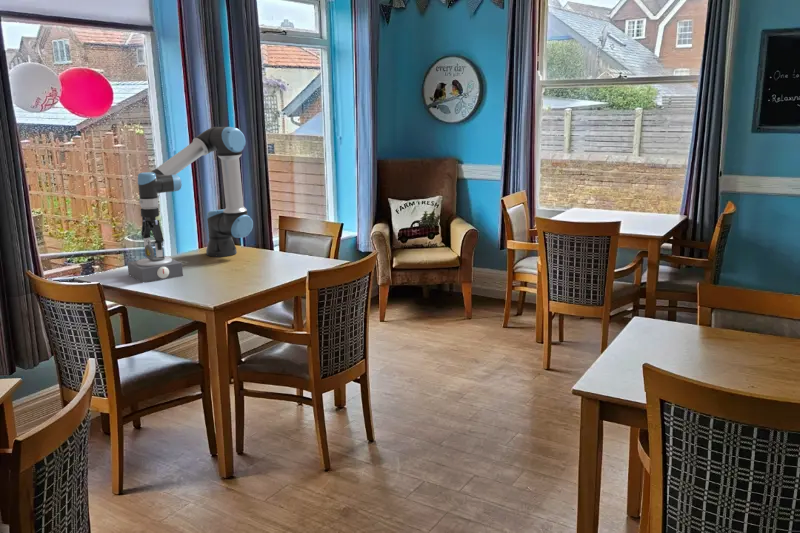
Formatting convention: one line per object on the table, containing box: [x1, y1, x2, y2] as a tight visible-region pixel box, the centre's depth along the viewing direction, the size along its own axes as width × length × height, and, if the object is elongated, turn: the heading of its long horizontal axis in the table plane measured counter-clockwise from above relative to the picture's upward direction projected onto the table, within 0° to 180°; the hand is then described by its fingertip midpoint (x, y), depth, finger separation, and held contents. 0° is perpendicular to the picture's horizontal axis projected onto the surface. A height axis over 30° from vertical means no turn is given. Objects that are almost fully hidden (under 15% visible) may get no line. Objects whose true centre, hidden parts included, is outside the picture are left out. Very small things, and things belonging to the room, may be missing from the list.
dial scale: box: [127, 255, 184, 283], centre depth 305 cm, size 19×18×7 cm
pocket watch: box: [144, 240, 165, 261], centre depth 304 cm, size 8×8×10 cm
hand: (153, 254), depth 304 cm, fingers open, 13 cm apart
